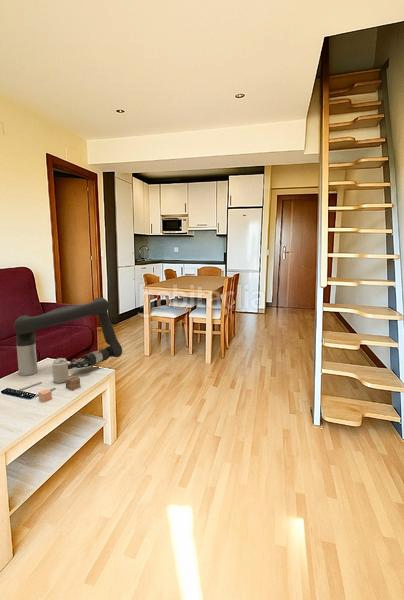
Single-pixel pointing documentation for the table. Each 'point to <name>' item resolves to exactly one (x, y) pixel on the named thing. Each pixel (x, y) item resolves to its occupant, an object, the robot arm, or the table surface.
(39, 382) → the frame
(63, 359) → the can
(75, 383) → the walnut block
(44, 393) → the clay block
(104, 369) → the table surface
